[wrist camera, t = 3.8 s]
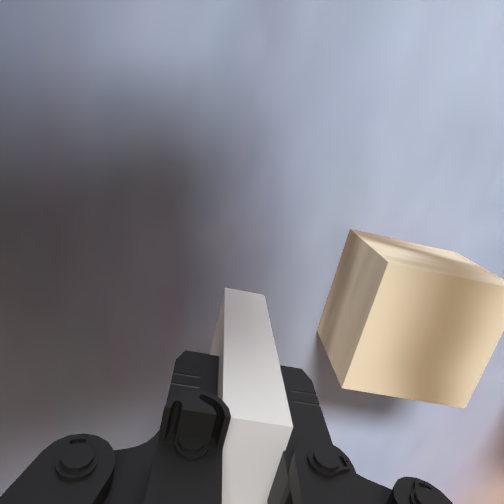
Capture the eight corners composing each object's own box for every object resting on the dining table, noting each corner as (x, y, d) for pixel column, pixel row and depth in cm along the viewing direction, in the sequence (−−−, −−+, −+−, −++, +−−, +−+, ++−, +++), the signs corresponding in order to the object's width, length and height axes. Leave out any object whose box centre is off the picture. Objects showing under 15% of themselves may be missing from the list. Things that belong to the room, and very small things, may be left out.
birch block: (316, 329, 21) (341, 388, 17) (349, 228, 20) (388, 262, 15) (414, 347, 22) (464, 408, 18) (455, 251, 20) (523, 291, 16)
